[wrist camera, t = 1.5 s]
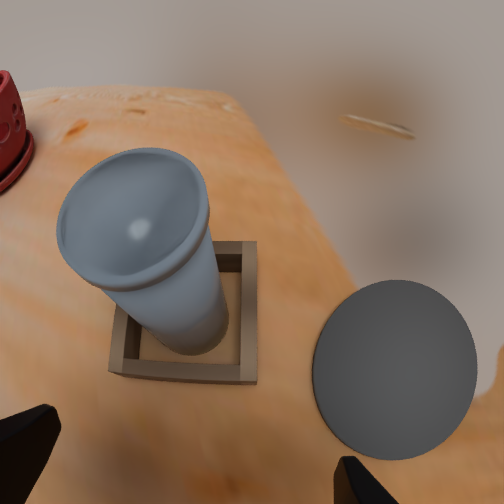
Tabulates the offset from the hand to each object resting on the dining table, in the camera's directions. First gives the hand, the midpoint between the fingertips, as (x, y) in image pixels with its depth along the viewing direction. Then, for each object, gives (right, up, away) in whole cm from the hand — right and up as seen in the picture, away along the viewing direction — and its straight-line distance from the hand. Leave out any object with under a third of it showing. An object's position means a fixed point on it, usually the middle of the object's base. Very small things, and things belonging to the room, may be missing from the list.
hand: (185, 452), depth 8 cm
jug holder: (-3, +1, +16) cm, 16 cm away
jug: (-3, +1, +16) cm, 16 cm away
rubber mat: (+13, -3, +13) cm, 19 cm away
